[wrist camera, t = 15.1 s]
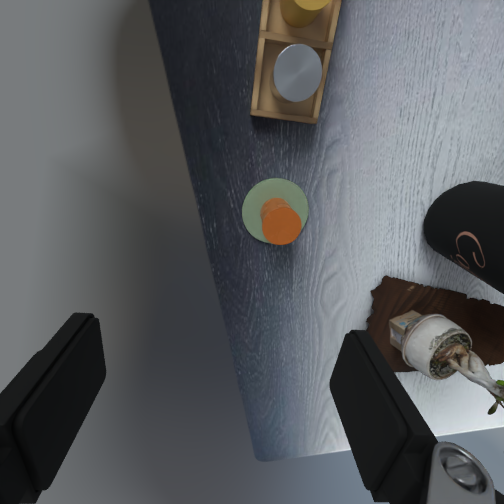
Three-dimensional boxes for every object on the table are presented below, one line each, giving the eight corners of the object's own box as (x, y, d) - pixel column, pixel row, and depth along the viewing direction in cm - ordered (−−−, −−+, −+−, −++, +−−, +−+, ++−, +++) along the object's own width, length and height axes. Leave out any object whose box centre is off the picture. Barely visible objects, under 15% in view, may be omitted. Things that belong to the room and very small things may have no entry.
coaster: (238, 238, 39) (238, 240, 38) (245, 173, 35) (246, 174, 34) (300, 244, 39) (301, 246, 39) (314, 182, 36) (315, 182, 35)
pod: (256, 227, 37) (259, 243, 32) (261, 194, 35) (265, 205, 30) (289, 230, 38) (297, 246, 33) (295, 198, 36) (305, 209, 31)
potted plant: (365, 266, 44) (585, 371, 22) (443, 272, 51) (672, 357, 29) (335, 370, 49) (490, 545, 26) (410, 363, 56) (584, 497, 33)
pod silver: (264, 102, 31) (269, 98, 26) (270, 54, 29) (277, 39, 24) (303, 108, 32) (316, 104, 27) (312, 61, 30) (327, 48, 25)
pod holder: (312, 124, 33) (316, 124, 31) (249, 115, 32) (250, 114, 30) (365, -146, 24) (375, -167, 22) (280, -167, 23) (284, -190, 21)
